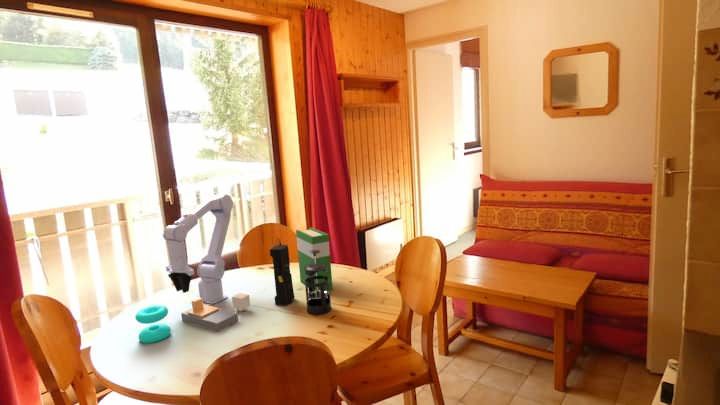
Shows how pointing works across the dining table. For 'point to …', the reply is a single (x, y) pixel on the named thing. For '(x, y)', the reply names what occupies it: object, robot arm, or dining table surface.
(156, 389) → the dining table surface
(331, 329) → the dining table surface
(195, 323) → the grey recessed box
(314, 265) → the french press
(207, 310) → the shutter
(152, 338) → the cyan discs
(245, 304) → the beige rectangular block
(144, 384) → the dining table surface
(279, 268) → the portable radio
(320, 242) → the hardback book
